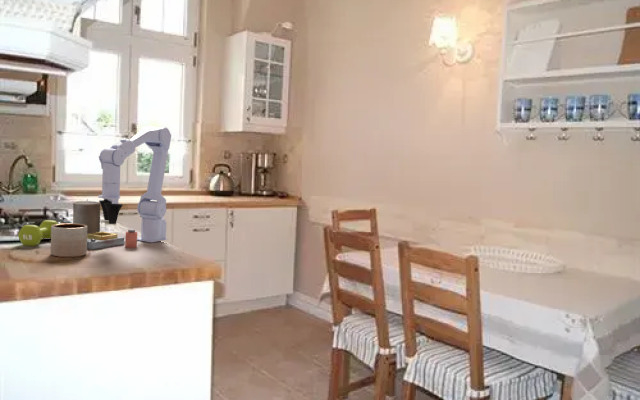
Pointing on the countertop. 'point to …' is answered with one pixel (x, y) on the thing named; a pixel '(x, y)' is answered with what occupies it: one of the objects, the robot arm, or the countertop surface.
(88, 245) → the grey flat block
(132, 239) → the oil can
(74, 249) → the planter
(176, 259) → the countertop surface
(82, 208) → the pillar candle
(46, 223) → the dumbbell
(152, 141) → the robot arm
